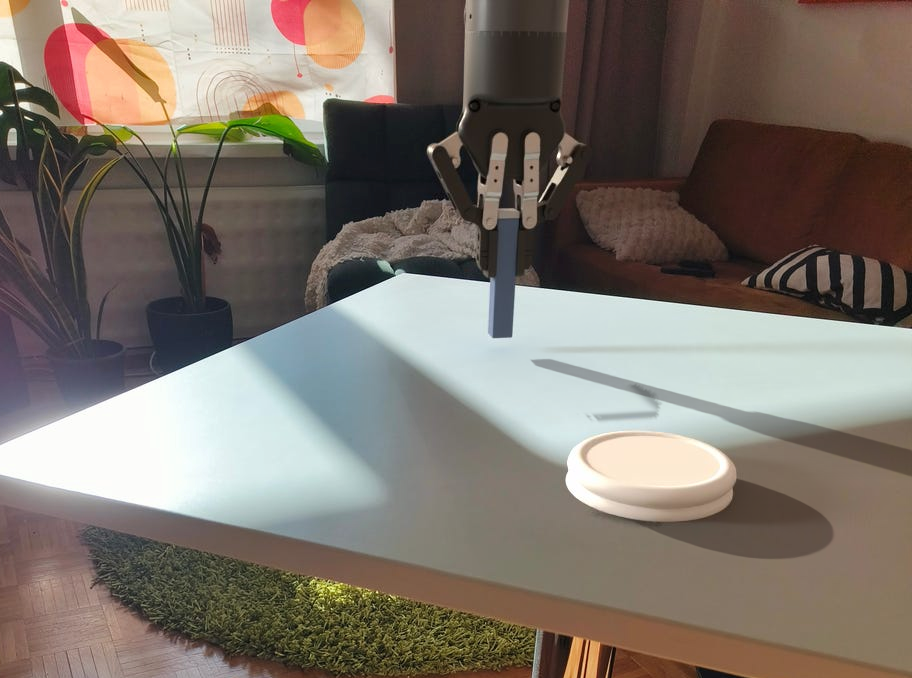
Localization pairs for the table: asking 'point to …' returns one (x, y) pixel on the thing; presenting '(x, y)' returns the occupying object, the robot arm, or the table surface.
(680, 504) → the coaster
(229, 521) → the table surface
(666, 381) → the table surface
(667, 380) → the table surface
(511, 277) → the blue square bar
